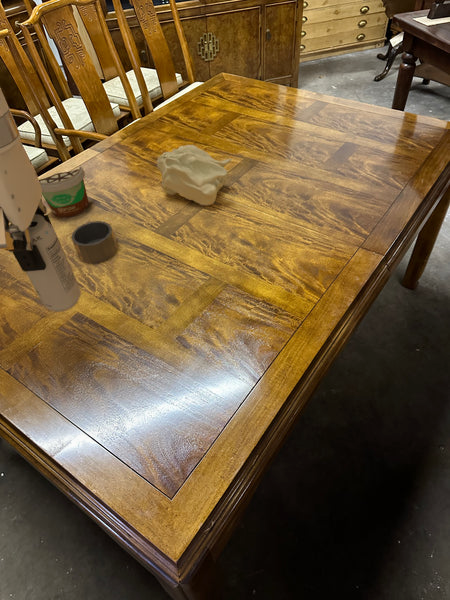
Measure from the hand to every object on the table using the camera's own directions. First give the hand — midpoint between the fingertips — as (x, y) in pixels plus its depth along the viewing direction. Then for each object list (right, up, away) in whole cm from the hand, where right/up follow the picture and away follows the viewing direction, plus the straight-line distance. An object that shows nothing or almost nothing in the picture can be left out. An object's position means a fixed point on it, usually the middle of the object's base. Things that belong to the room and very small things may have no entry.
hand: (40, 252), depth 60 cm
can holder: (-2, +4, +34) cm, 34 cm away
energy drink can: (+1, -7, +7) cm, 10 cm away
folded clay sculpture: (+20, +20, +47) cm, 55 cm away
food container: (-12, +15, +46) cm, 50 cm away
